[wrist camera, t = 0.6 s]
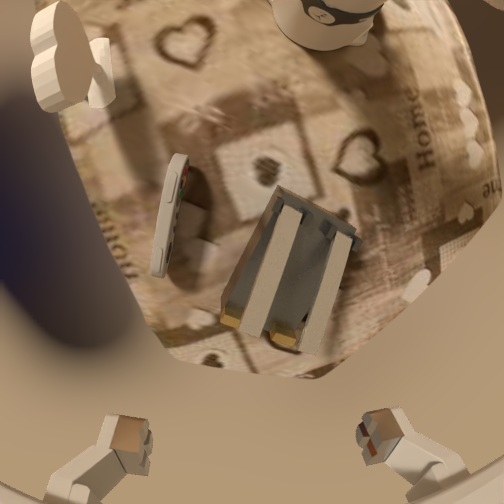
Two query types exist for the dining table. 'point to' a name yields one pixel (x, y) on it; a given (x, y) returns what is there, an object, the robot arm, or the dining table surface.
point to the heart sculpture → (68, 61)
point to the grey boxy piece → (296, 269)
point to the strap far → (325, 294)
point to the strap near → (270, 271)
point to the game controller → (168, 214)
